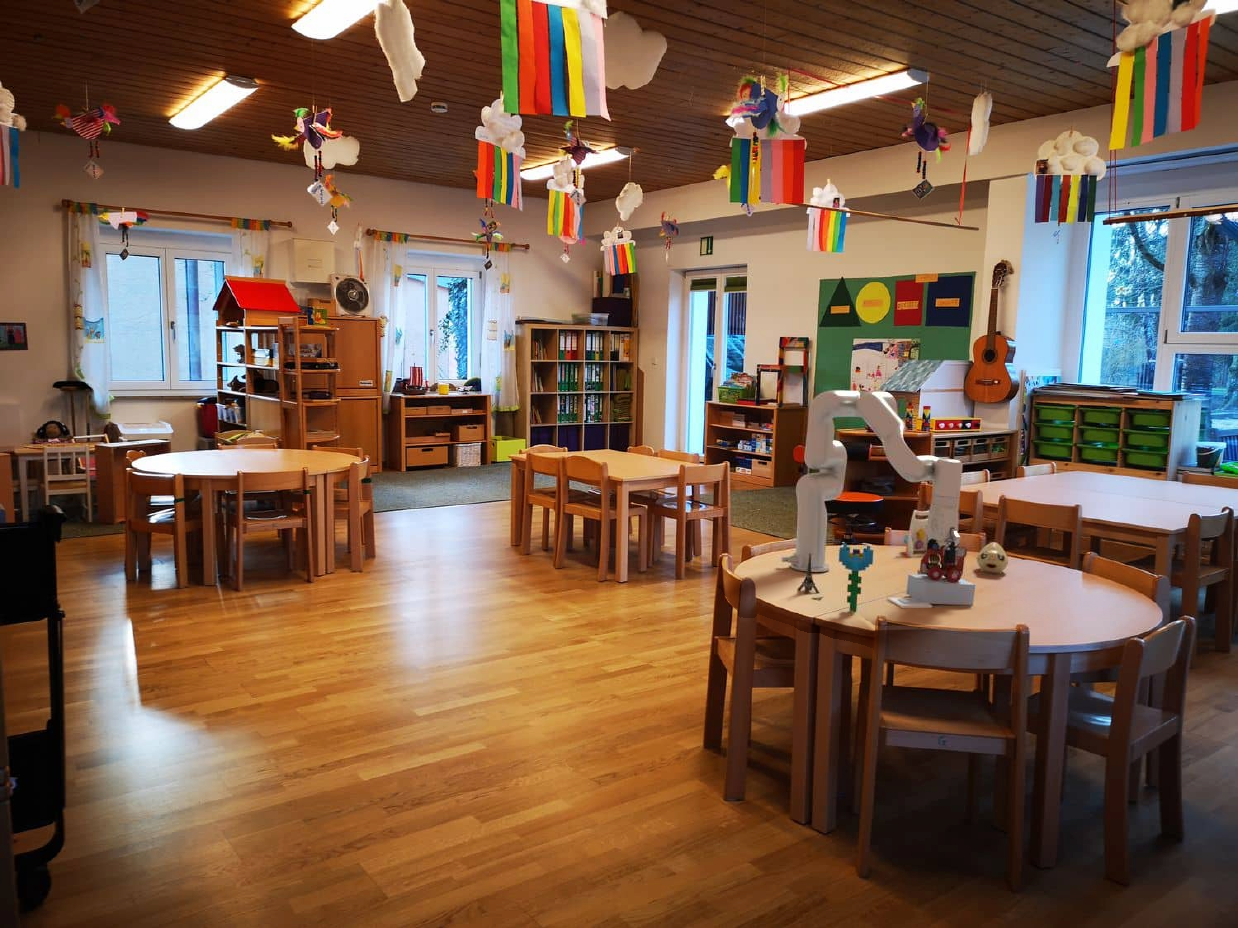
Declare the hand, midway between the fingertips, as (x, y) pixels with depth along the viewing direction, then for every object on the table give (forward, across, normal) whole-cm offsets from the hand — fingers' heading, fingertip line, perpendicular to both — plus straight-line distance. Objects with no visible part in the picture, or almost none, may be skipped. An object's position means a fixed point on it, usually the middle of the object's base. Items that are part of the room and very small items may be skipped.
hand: (940, 559), depth 257 cm
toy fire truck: (+6, 0, +1) cm, 6 cm away
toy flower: (+13, +9, -30) cm, 34 cm away
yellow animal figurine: (+13, -31, +38) cm, 50 cm away
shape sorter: (+13, -58, +28) cm, 66 cm away
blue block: (+12, +1, 0) cm, 12 cm away
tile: (+12, +4, -10) cm, 17 cm away
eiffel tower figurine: (+14, -11, -35) cm, 39 cm away
